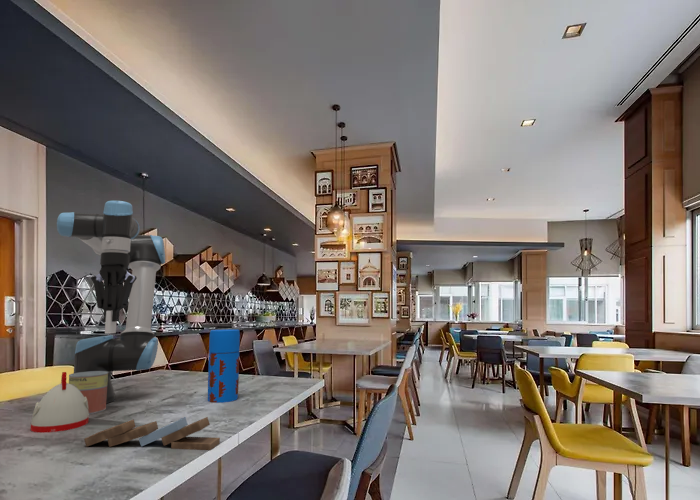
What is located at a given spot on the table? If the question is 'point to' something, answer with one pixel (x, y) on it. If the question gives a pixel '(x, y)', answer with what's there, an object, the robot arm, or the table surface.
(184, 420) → the domino
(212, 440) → the domino
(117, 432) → the domino
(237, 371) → the thermos
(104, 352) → the robot arm
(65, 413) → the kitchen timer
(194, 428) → the domino
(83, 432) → the table surface
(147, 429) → the domino
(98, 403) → the canned food
